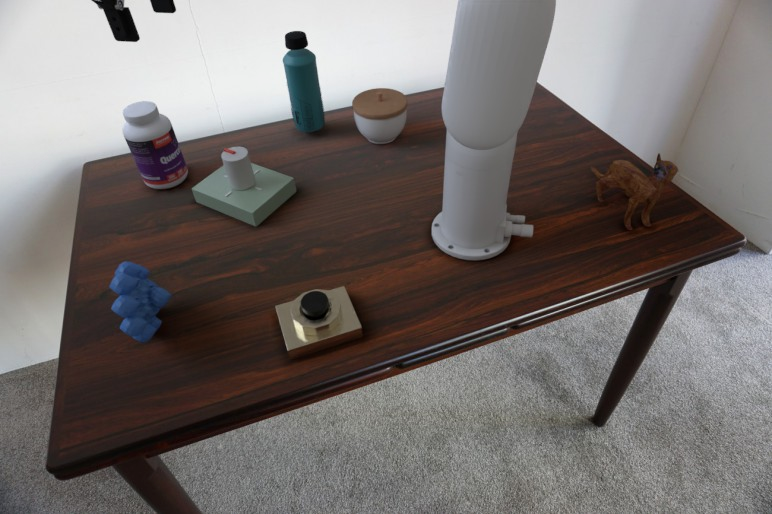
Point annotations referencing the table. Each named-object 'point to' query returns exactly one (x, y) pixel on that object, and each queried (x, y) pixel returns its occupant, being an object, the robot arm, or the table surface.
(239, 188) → the dial
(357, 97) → the trinket box
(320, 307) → the button
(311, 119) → the beverage bottle
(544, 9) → the robot arm
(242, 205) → the dial panel
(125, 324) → the blue lumpy lobed piece
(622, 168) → the cat figurine
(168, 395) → the table surface
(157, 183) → the pill bottle
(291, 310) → the button box
